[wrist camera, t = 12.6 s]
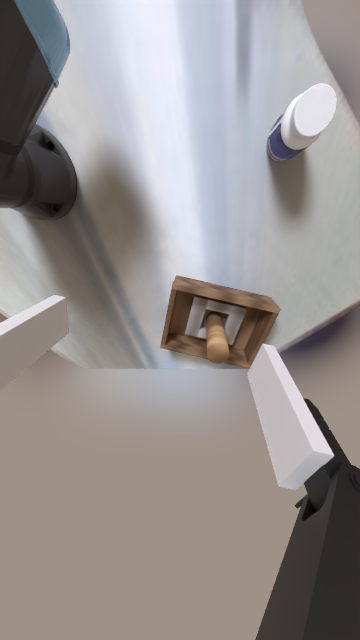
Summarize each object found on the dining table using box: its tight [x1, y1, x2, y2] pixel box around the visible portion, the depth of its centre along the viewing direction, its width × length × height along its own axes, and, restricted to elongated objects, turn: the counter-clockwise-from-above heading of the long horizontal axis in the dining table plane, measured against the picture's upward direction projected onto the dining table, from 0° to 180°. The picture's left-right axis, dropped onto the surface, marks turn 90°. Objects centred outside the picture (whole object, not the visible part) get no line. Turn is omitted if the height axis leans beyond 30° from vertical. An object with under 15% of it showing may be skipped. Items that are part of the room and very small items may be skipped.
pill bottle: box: [267, 84, 336, 162], centre depth 28 cm, size 6×6×10 cm
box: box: [160, 276, 281, 369], centre depth 45 cm, size 22×16×6 cm
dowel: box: [206, 311, 229, 363], centre depth 41 cm, size 4×4×14 cm
